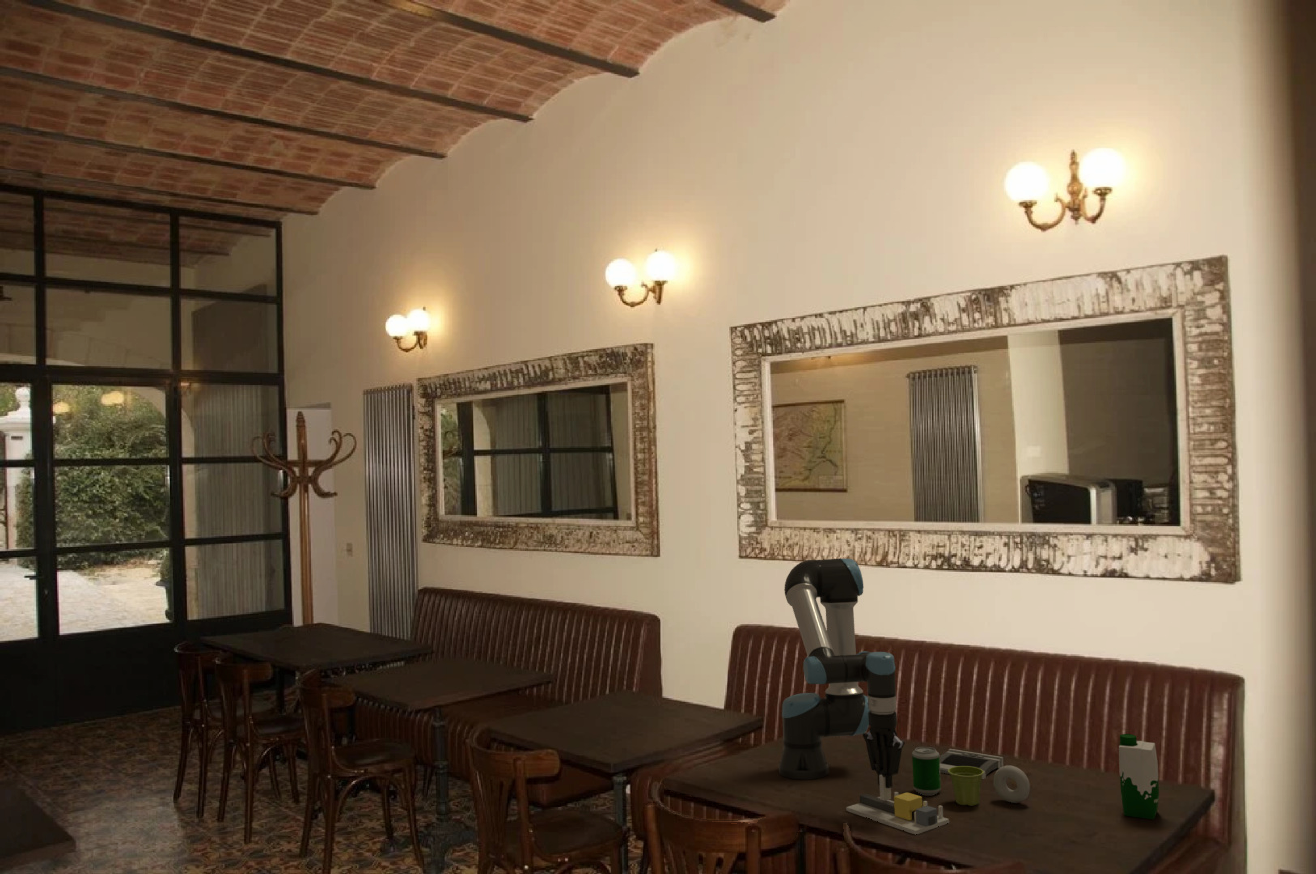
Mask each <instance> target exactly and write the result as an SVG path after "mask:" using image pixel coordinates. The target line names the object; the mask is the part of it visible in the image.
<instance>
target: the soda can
mask: <svg viewBox="0 0 1316 874" xmlns="http://www.w3.org/2000/svg"><path fill="white" fill-rule="evenodd" d="M911 756H912V757H911V759H912V761H911V762H912V778H913V779H912V780H913V781H912V784H913V790H914V791H915V792H916V793H917V792H918V793H917V794H919V793H920V794H919V795H921V794H922V796H936V795H938V794H939V792H940V791H941V789H942V786H941V773H940V759H939V756H940V753H939V751H937V750H936V748H934V747H930V746H919V747H916V748H915V749H914V750H913V751H912V752H911ZM937 793H938V794H937ZM935 794H936V795H935Z"/></svg>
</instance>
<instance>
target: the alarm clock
mask: <svg viewBox="0 0 1316 874" xmlns="http://www.w3.org/2000/svg"><path fill="white" fill-rule="evenodd" d="M939 759H940V774H944V773H945V775H950V774H949V772H948V769H949V768H952V767H956V766H971V767H976V768H980V769H982V770H983V771H984V773H983V775H982V779H983V780H984V779H986V778H987V775H988V774H989V773H991V772H992V771H994V770H996V769H999V768H1000V767H1003V766H1004V757H1003V756H998V755H992V754H991V755H990V754H985V753H980V752H979V753H978V752H972V751H967V750H966V751H965V750H960V749H953V748H949V749H948V751H945V753H943V754H941V755H939Z"/></svg>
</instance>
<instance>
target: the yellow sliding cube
mask: <svg viewBox="0 0 1316 874" xmlns="http://www.w3.org/2000/svg"><path fill="white" fill-rule="evenodd" d="M893 801H894V808H895V816H898V817H901V818H904V819H907V820H912V812H913V811H916V809H918V808H921V807H923V796H920V795H917V794H914V793H911V792H904V793H900V794H899V795H897V796H894V795H893Z"/></svg>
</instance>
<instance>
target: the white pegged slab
mask: <svg viewBox="0 0 1316 874" xmlns="http://www.w3.org/2000/svg"><path fill="white" fill-rule="evenodd" d="M893 794H894V795H893V797H894V796H897V795H900V794H899V792H898V791H894V792H893ZM928 804H929V803H928V801H927V800H924V801H923V800H922V807H921V808H918V809H916V811H913V812H912V820H907V819H904V818H901V817H898V816H895V808H894V800H891V799H888V800H885V801H884V800H881V799H880V796H874V795H872V794H868V793H863V794H860V795H859V803H856V804H852V805H849V806H846V807H845V808H846V810H845V811H846V812H849V813H851V814H854V815H856V816H857V815H858V816H860V817H864V818H866V817H867V818H866V819H868V818H870V819H869V820H871V819H872V821H874V822H877V821H878V822H877V823H881V824H883V825H886V826H889V827H892V828H895V829H896V830H897V829H898V830H901V831H903V830H904V831H903V832H906V833H909V834H912V835H915V836H917V835H919V834H922V833H924V832H929V831H930V830H933V829H936V828H939V827H942V826H944V825H948V824H949V823H950V818H947V817H944V807H943V805H938V808H936V807H933V806H929V805H928ZM947 823H948V824H947ZM938 826H939V827H938ZM916 834H917V835H916Z"/></svg>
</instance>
